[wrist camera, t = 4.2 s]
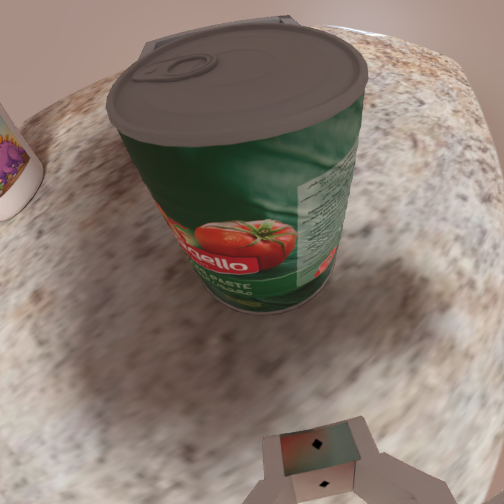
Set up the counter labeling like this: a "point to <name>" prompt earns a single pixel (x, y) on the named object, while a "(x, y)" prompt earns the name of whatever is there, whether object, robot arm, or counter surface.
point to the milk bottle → (16, 169)
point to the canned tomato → (248, 153)
